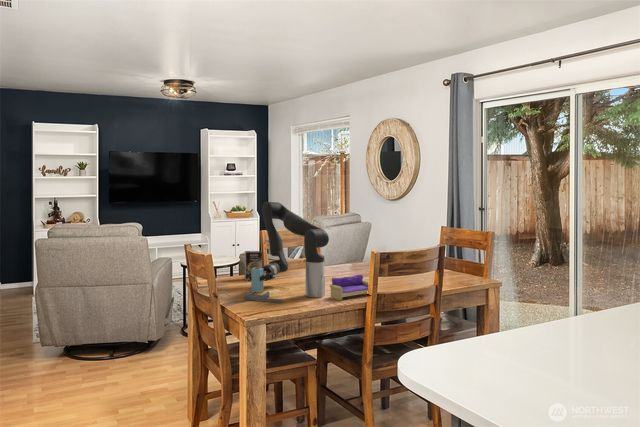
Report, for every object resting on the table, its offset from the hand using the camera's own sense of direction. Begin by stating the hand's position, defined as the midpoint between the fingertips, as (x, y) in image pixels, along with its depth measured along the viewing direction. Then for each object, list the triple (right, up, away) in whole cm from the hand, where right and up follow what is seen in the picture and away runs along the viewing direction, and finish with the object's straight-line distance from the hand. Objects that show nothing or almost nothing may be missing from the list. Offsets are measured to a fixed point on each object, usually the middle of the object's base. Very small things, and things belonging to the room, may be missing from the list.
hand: (255, 278), depth 262 cm
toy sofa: (+47, -10, +10) cm, 49 cm away
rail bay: (+5, -10, +1) cm, 11 cm away
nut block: (0, -6, +3) cm, 7 cm away
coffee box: (-7, -6, +48) cm, 49 cm away
